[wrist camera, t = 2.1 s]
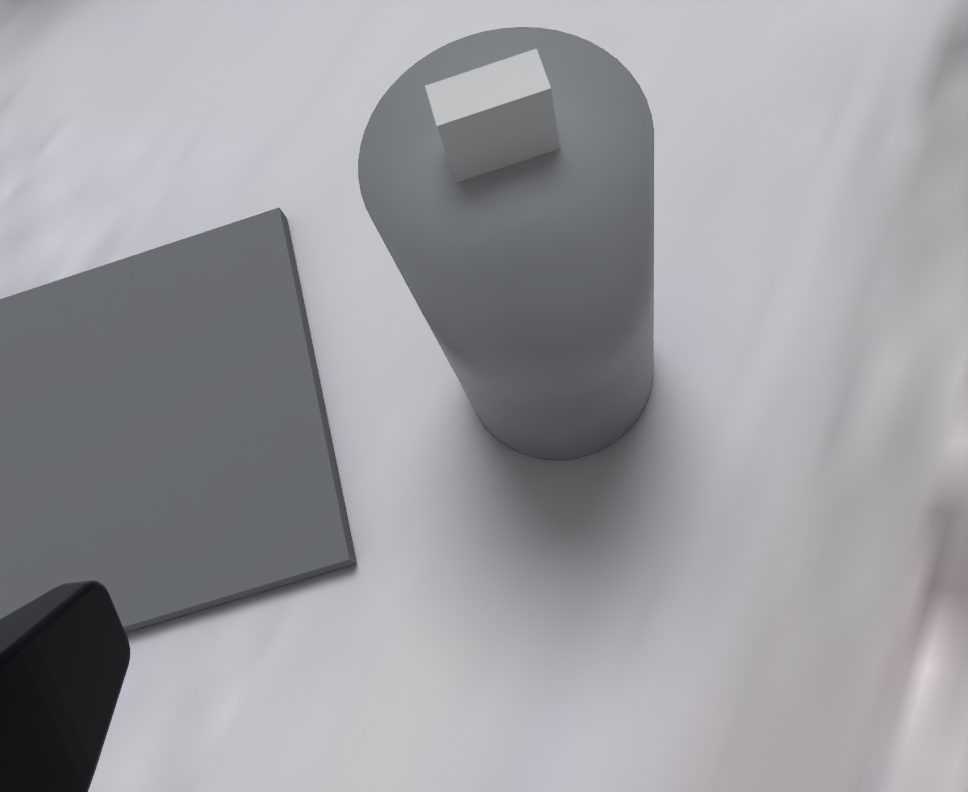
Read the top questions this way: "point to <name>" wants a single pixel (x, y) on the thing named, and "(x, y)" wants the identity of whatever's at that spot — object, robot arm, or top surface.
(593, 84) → the grey bottle
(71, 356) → the charcoal mat
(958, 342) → the top surface
